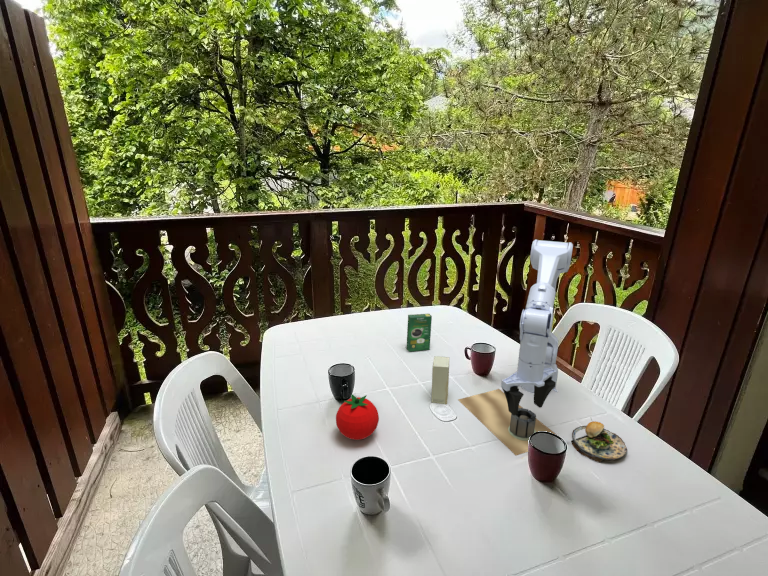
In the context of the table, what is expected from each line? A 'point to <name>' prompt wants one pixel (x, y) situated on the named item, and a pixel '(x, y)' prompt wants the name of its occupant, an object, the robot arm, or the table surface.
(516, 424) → the ring
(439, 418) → the table surface
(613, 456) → the burger
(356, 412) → the tomato
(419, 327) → the coffee box
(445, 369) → the skincare box
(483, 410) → the board
